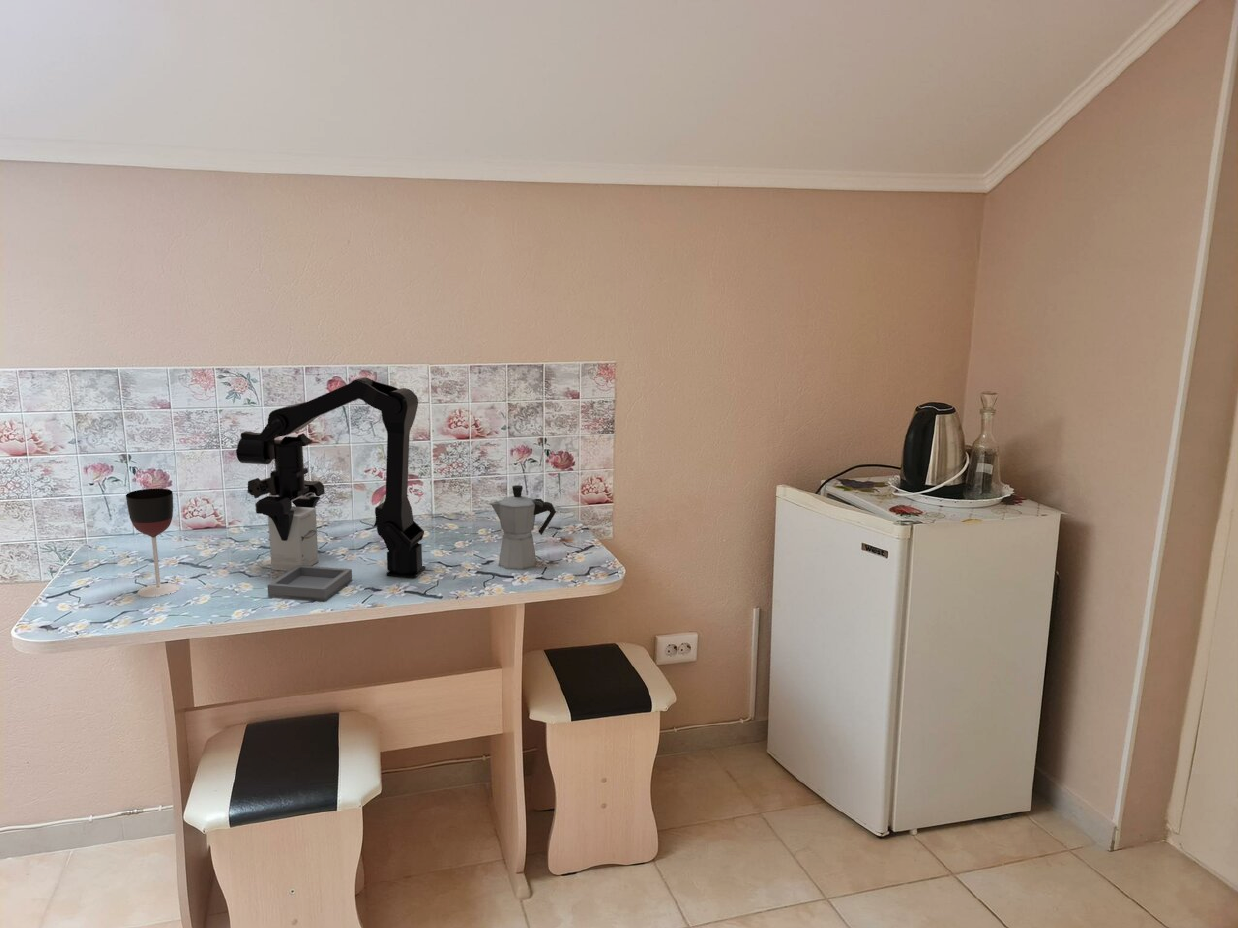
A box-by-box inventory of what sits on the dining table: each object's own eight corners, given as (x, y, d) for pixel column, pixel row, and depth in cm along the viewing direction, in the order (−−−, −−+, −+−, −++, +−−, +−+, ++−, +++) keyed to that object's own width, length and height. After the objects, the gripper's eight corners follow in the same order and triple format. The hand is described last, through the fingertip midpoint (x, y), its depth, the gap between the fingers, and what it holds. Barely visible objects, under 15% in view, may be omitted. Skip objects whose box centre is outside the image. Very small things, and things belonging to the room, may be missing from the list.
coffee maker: (485, 569, 190) (485, 489, 186) (492, 556, 199) (492, 480, 195) (553, 571, 190) (553, 491, 186) (557, 558, 198) (558, 482, 194)
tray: (352, 580, 181) (351, 569, 181) (325, 601, 169) (324, 589, 169) (298, 576, 183) (298, 565, 182) (268, 596, 171) (267, 584, 171)
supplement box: (301, 573, 185) (298, 516, 182) (270, 570, 186) (266, 513, 184) (319, 562, 192) (316, 507, 189) (289, 559, 193) (286, 504, 191)
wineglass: (169, 579, 179) (160, 486, 175) (188, 590, 174) (180, 493, 169) (128, 589, 173) (118, 493, 169) (147, 600, 168) (137, 501, 163)
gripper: (277, 454, 194) (281, 521, 198) (228, 472, 176) (234, 545, 180) (323, 457, 193) (327, 524, 196) (279, 475, 175) (284, 549, 178)
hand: (293, 535), depth 188 cm, fingers closed on supplement box, 7 cm apart
